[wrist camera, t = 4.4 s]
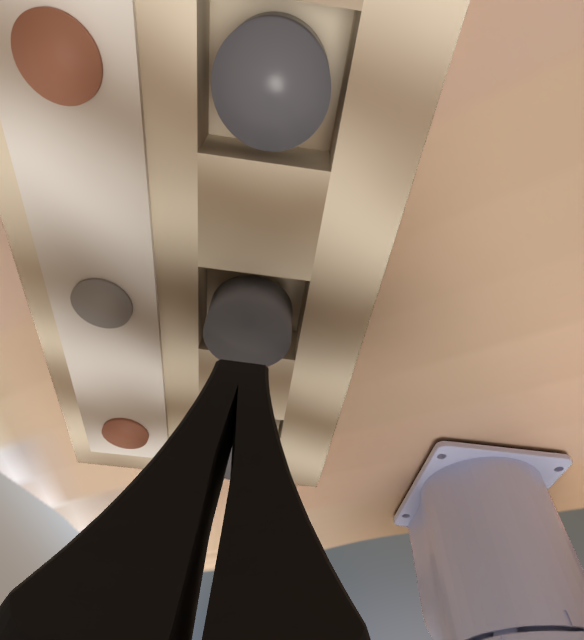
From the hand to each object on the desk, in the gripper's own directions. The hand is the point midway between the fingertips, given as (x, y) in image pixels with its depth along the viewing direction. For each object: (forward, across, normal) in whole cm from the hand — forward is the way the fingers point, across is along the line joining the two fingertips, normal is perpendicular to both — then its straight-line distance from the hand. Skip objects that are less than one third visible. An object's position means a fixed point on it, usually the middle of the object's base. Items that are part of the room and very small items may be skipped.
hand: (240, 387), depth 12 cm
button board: (+7, +2, +2) cm, 8 cm away
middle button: (+5, 0, +1) cm, 6 cm away
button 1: (+6, 0, -7) cm, 9 cm away
